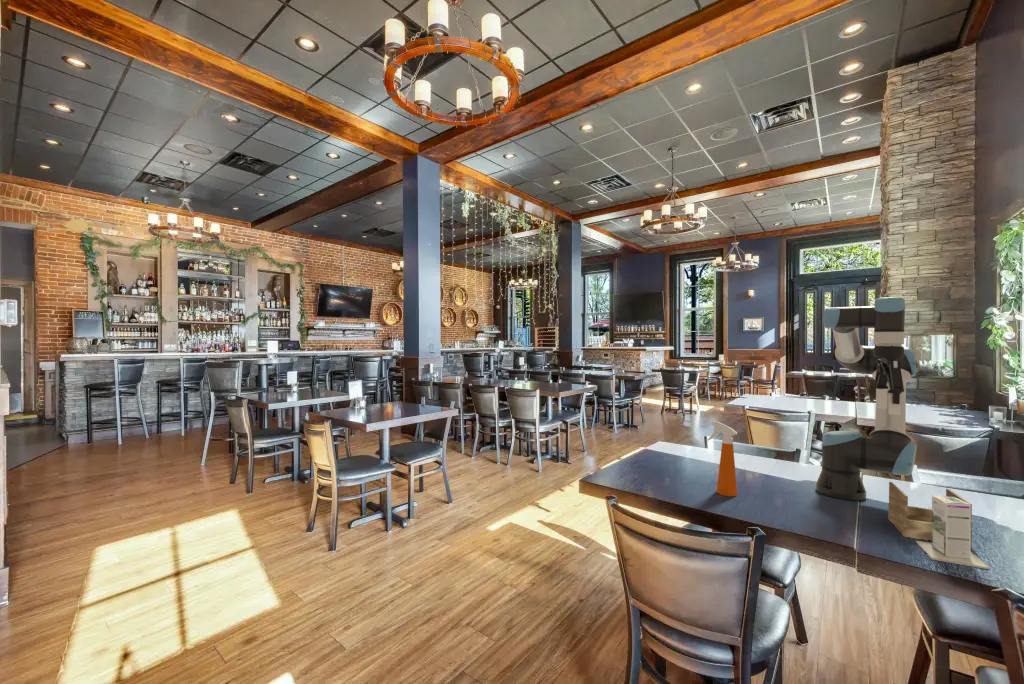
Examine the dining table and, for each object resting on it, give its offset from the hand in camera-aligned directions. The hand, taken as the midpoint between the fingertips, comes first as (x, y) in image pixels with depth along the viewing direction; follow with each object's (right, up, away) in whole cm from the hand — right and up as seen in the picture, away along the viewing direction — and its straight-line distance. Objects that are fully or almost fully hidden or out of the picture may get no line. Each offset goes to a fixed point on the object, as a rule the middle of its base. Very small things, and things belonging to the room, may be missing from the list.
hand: (887, 411), depth 143 cm
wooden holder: (+4, -35, -10) cm, 36 cm away
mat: (-3, -35, -24) cm, 42 cm away
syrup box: (-3, -35, -24) cm, 42 cm away
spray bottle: (-43, -34, +23) cm, 59 cm away
